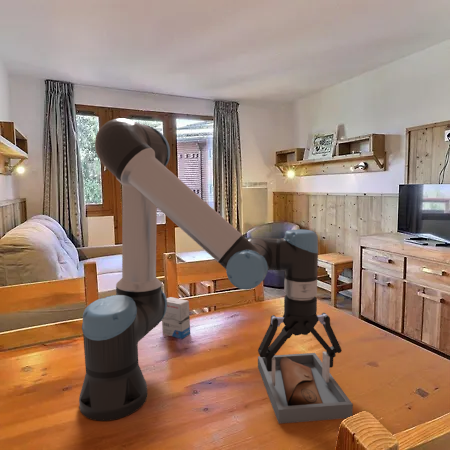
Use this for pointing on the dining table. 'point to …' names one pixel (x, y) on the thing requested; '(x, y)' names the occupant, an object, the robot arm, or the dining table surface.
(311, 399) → the sunglasses case
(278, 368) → the holder
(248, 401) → the dining table surface
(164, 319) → the ink box
